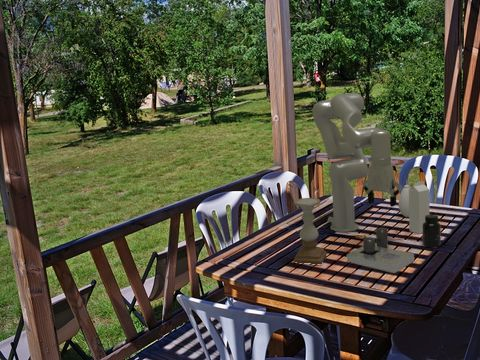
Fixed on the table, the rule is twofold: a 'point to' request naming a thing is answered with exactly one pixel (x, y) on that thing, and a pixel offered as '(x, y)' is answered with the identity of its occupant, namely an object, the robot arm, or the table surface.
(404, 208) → the sauce bottle
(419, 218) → the milk
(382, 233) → the dark grey cylinder
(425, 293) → the table surface
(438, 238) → the supplement bottle
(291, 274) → the table surface
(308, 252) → the candle holder
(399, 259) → the jig
